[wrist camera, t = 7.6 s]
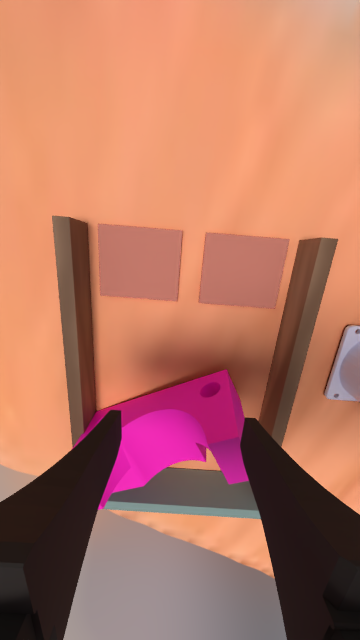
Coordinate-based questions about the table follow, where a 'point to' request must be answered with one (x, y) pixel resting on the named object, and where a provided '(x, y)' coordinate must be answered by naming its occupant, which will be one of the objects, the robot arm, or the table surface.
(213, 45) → the table surface
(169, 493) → the end stop
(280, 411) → the lane rails
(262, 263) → the trap squares
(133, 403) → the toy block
